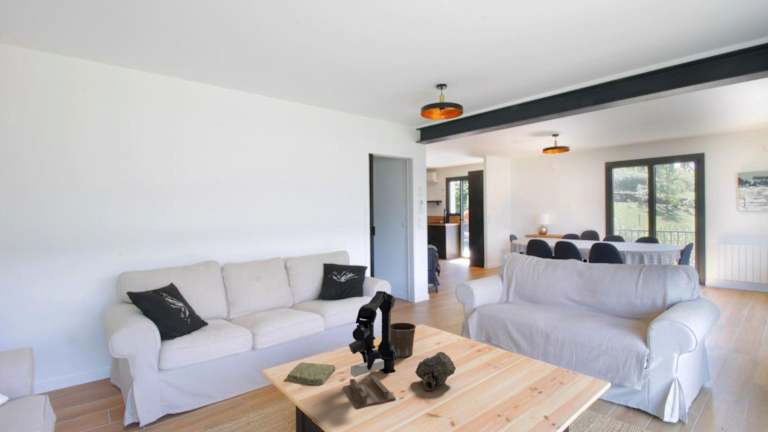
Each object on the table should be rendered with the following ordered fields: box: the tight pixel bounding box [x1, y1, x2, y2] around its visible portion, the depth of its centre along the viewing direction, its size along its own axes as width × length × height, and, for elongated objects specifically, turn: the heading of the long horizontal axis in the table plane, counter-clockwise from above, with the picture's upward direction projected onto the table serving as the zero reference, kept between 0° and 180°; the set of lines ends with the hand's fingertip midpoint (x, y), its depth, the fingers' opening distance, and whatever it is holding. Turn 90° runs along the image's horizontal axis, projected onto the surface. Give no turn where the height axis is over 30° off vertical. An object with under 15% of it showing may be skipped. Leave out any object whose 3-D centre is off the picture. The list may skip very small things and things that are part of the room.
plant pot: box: [391, 322, 417, 358], centre depth 225 cm, size 16×16×16 cm
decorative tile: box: [286, 361, 336, 386], centre depth 197 cm, size 19×20×4 cm
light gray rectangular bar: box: [350, 359, 384, 378], centre depth 177 cm, size 16×3×4 cm, turn 125°
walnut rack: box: [342, 374, 397, 409], centre depth 177 cm, size 18×20×4 cm
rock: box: [415, 351, 457, 392], centre depth 185 cm, size 18×14×15 cm
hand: (367, 368), depth 177 cm, fingers closed on light gray rectangular bar, 4 cm apart
